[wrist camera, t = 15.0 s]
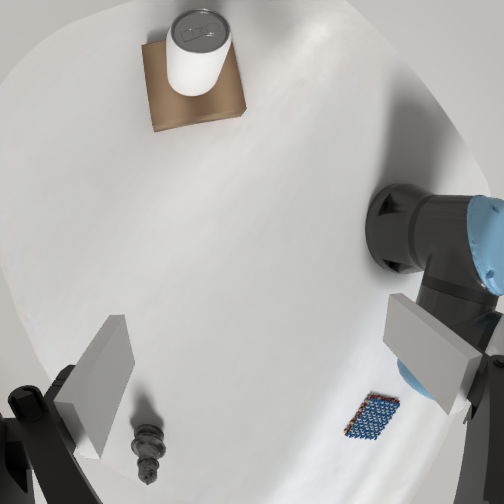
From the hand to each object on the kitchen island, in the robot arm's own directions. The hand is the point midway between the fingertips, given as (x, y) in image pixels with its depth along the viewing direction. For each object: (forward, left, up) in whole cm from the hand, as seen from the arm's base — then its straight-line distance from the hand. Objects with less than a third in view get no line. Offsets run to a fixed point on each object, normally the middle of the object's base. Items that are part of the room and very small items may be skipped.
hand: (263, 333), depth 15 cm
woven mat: (-24, +42, -30) cm, 57 cm away
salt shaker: (+18, +29, -30) cm, 45 cm away
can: (-2, -23, -26) cm, 35 cm away
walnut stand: (-2, -23, -30) cm, 38 cm away
